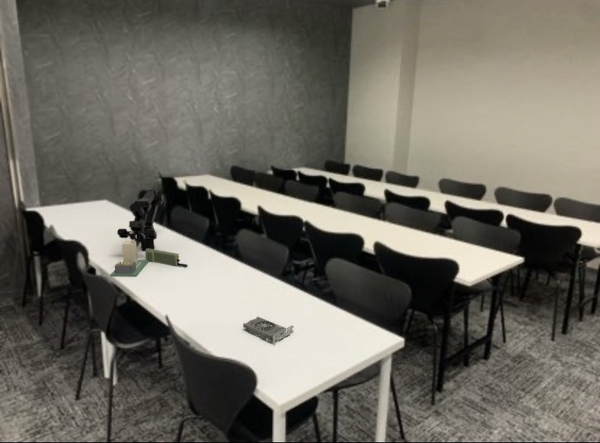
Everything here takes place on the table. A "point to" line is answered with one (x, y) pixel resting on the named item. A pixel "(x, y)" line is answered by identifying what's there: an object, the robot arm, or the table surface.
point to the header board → (129, 268)
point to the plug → (130, 252)
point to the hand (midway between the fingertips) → (134, 248)
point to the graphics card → (267, 330)
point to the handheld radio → (163, 257)
